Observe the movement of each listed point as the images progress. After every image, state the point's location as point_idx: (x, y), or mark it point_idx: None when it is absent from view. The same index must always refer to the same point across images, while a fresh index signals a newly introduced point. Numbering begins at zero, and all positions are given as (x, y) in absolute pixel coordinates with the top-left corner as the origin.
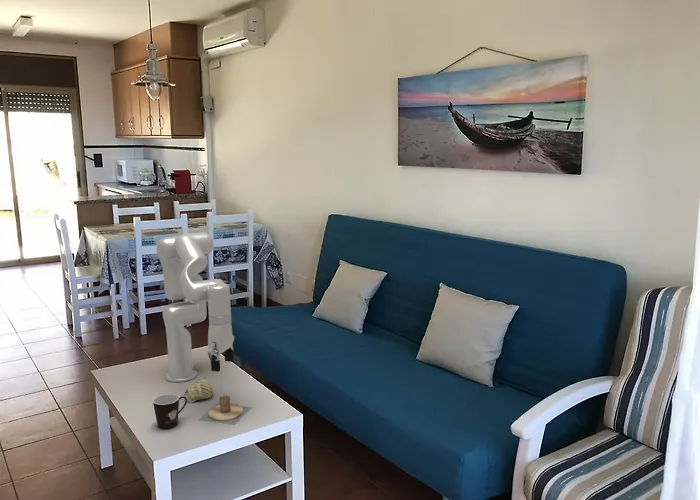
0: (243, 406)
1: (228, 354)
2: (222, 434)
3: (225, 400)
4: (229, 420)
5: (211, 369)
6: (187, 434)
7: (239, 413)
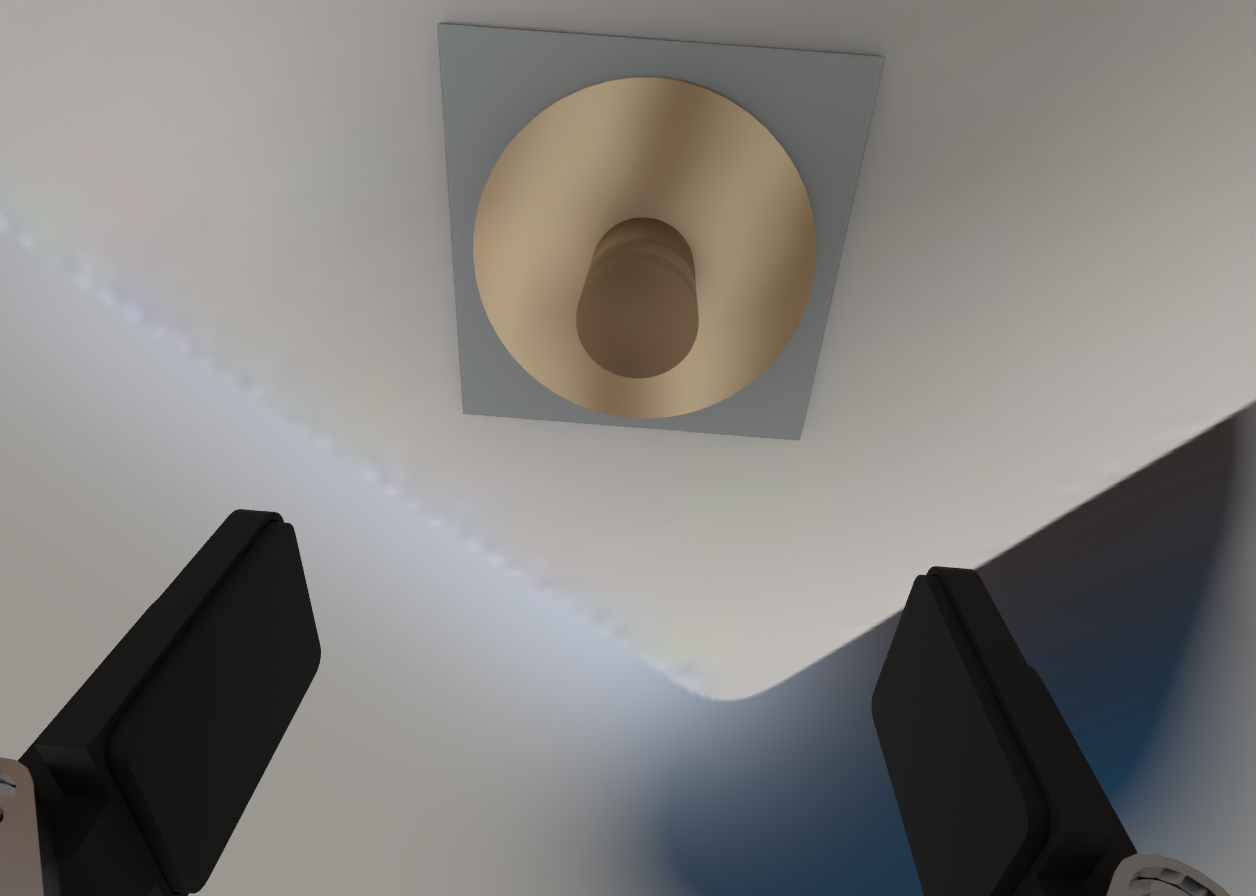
0: (811, 367)
1: (948, 805)
2: (313, 367)
3: (587, 347)
4: None
5: (224, 527)
6: (168, 49)
7: (613, 412)
